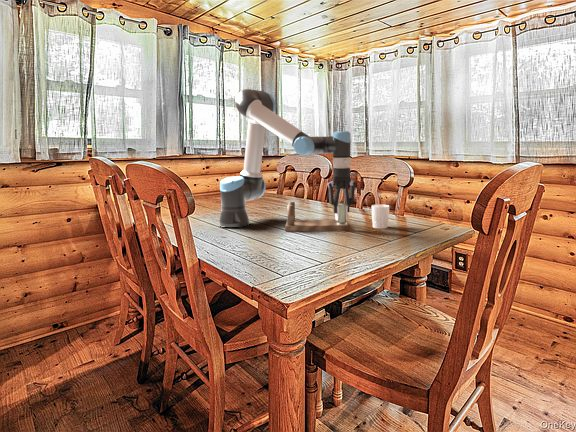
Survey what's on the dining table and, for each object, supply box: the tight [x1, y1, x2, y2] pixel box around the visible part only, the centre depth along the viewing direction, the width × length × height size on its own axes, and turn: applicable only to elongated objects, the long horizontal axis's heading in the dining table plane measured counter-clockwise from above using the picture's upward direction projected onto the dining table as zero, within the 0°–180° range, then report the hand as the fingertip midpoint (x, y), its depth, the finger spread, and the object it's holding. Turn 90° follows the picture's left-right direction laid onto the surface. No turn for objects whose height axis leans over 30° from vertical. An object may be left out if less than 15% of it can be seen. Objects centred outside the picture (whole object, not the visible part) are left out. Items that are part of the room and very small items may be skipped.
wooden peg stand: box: [284, 200, 349, 233], centre depth 175 cm, size 28×13×12 cm, turn 87°
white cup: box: [371, 203, 390, 230], centre depth 173 cm, size 8×8×10 cm
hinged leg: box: [338, 203, 346, 224], centre depth 173 cm, size 9×3×9 cm, turn 173°
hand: (341, 219), depth 170 cm, fingers closed on hinged leg, 3 cm apart
